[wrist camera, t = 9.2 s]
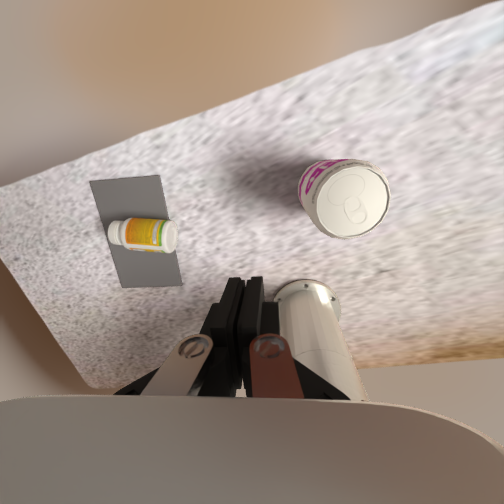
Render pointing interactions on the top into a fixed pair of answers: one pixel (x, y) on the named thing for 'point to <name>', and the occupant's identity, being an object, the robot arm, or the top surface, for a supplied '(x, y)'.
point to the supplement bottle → (144, 234)
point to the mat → (136, 206)
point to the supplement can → (344, 197)
